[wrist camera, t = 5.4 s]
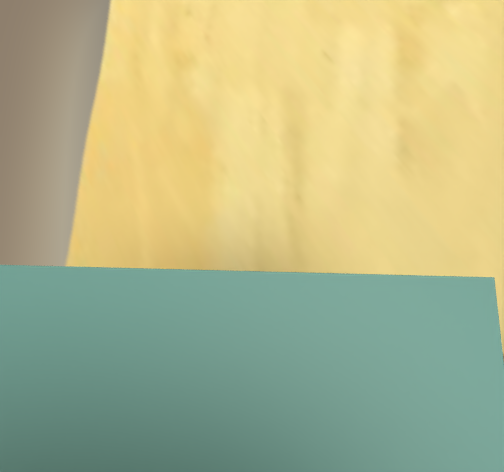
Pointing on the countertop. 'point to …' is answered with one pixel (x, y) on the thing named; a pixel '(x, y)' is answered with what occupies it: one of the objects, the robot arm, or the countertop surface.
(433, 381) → the teal block
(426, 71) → the countertop surface
